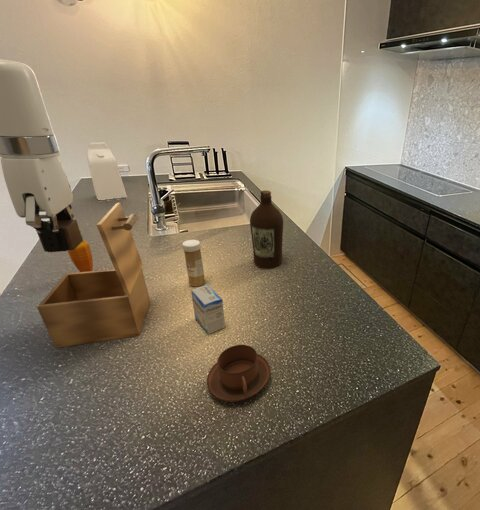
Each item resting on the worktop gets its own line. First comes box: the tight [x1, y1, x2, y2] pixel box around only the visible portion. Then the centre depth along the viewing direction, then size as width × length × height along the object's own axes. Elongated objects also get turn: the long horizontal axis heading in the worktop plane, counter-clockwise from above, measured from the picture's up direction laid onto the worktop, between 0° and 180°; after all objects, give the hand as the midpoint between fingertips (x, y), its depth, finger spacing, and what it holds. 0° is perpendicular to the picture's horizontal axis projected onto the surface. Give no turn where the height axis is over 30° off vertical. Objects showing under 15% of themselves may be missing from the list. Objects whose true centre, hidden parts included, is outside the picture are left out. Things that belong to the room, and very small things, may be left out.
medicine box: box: [190, 284, 226, 335], centre depth 74 cm, size 8×4×9 cm, turn 44°
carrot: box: [66, 229, 94, 272], centre depth 87 cm, size 5×5×15 cm
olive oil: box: [249, 190, 284, 269], centre depth 101 cm, size 11×11×25 cm
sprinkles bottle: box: [181, 239, 206, 287], centre depth 88 cm, size 5×5×14 cm
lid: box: [96, 202, 144, 295], centre depth 68 cm, size 16×14×4 cm
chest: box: [36, 267, 151, 349], centre depth 71 cm, size 16×14×11 cm
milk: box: [86, 142, 128, 201], centre depth 149 cm, size 12×12×26 cm
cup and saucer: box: [206, 344, 271, 403], centre depth 60 cm, size 12×12×6 cm
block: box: [36, 219, 84, 253], centre depth 58 cm, size 4×4×4 cm
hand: (63, 244), depth 59 cm, fingers closed on block, 4 cm apart
